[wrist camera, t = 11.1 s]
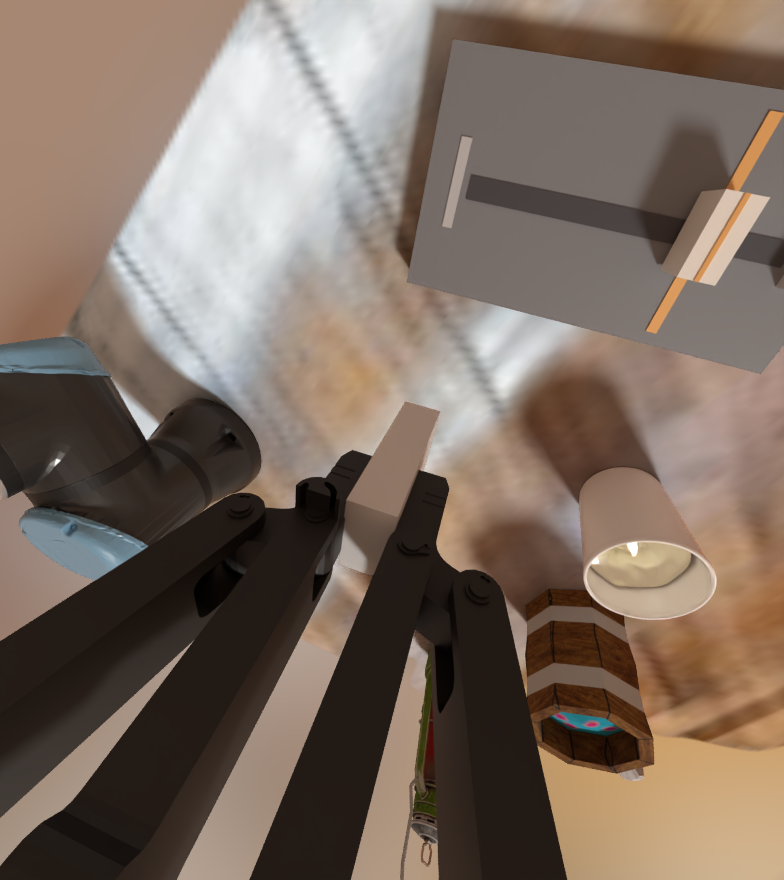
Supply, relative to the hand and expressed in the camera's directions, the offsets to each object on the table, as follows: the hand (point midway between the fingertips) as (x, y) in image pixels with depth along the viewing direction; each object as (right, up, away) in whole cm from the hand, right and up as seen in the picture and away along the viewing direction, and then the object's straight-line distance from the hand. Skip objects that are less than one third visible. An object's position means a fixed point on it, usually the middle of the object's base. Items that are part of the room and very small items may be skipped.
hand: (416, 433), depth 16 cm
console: (+17, +18, +14) cm, 28 cm away
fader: (+21, +14, +11) cm, 27 cm away
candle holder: (+25, -7, +27) cm, 37 cm away
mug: (+27, -28, +39) cm, 55 cm away
